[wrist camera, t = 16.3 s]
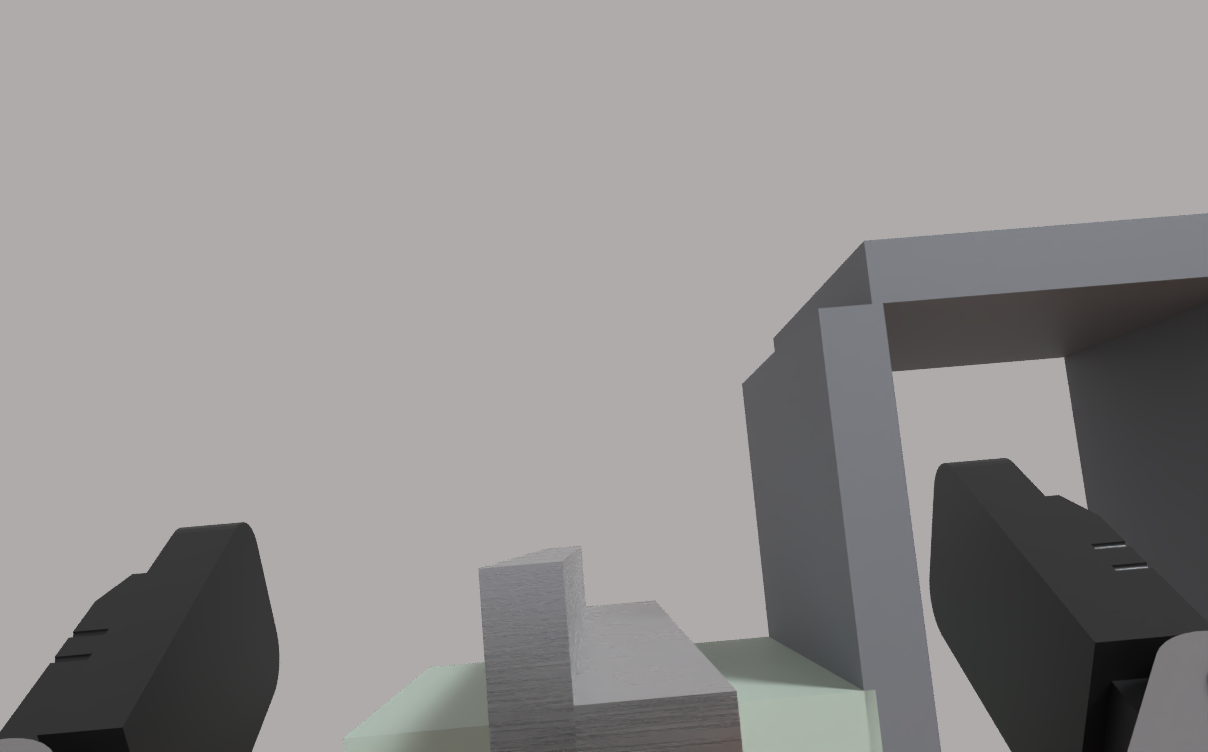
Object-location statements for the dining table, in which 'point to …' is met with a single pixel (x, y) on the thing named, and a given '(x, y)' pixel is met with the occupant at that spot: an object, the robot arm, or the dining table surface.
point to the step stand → (877, 477)
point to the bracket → (593, 668)
